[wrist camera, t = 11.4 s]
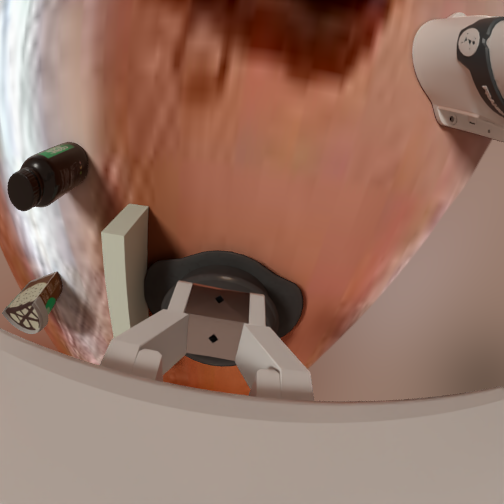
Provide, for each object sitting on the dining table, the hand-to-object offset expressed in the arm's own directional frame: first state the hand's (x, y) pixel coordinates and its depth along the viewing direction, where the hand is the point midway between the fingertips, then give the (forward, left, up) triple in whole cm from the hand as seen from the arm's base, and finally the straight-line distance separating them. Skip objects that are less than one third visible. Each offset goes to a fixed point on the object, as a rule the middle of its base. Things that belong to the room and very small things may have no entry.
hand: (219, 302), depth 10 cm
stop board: (+13, +23, -29) cm, 39 cm away
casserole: (0, +23, -29) cm, 37 cm away
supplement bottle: (+25, +5, -29) cm, 39 cm away
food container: (+33, +30, -29) cm, 53 cm away
